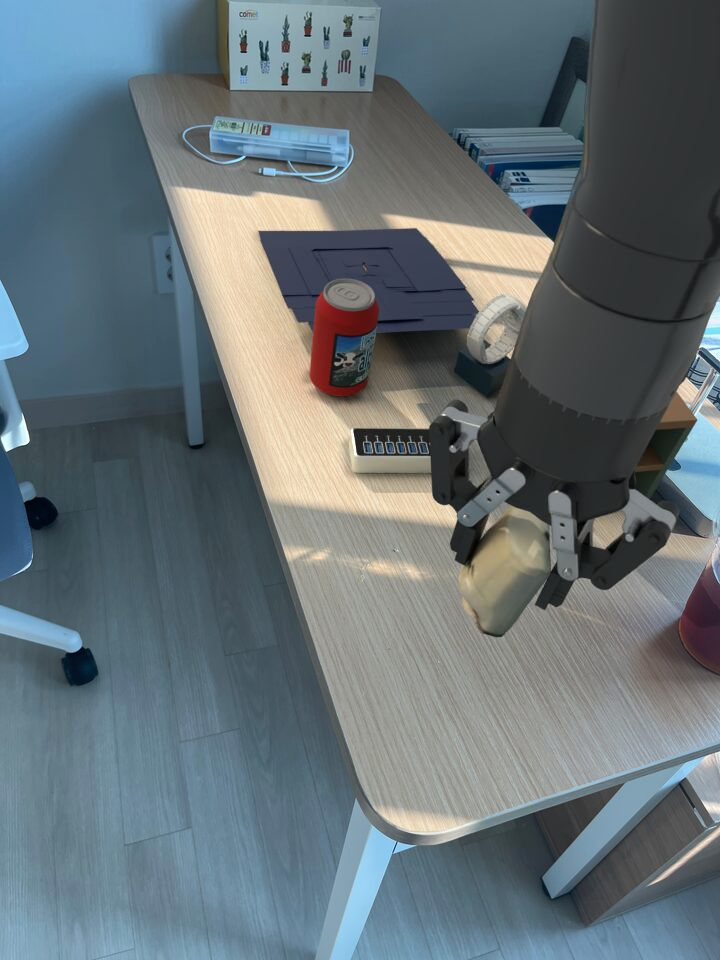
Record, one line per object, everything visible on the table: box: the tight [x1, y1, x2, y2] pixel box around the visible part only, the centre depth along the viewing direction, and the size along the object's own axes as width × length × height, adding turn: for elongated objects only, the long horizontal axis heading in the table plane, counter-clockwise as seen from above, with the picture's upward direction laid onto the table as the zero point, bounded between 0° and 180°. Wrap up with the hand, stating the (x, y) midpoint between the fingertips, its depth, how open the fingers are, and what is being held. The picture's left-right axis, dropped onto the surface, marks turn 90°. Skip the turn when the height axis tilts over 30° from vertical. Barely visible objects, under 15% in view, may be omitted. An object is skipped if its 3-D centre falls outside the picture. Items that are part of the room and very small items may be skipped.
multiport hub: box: [348, 427, 431, 474], centre depth 79 cm, size 4×11×2 cm, turn 97°
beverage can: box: [309, 279, 379, 397], centre depth 83 cm, size 7×7×12 cm
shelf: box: [635, 390, 698, 500], centre depth 78 cm, size 11×9×12 cm
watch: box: [453, 293, 527, 398], centre depth 87 cm, size 6×8×11 cm
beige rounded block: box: [458, 505, 552, 638], centre depth 47 cm, size 6×5×8 cm
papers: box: [257, 227, 480, 334], centre depth 99 cm, size 24×30×4 cm
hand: (505, 575), depth 47 cm, fingers closed on beige rounded block, 5 cm apart
